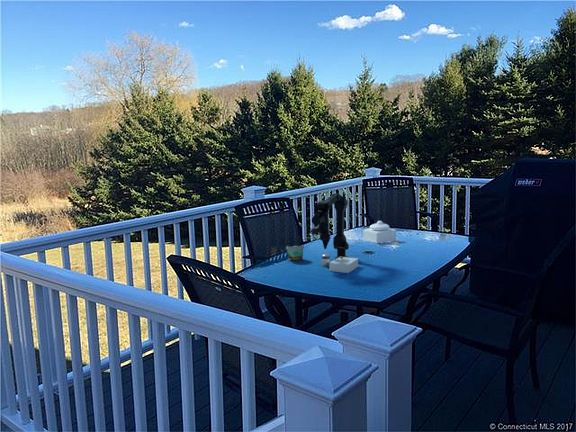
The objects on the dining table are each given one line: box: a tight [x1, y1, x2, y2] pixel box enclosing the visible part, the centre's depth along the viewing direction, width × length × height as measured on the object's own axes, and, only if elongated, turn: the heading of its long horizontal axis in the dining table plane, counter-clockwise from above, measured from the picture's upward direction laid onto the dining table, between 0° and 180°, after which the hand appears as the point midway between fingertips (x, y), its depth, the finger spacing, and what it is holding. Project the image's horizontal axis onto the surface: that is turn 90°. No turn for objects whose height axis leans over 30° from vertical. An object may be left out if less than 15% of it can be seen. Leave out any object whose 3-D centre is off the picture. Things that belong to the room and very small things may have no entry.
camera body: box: [329, 256, 359, 274], centre depth 284 cm, size 16×12×6 cm
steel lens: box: [321, 253, 331, 268], centre depth 292 cm, size 5×5×7 cm
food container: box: [285, 244, 305, 263], centre depth 307 cm, size 12×6×10 cm, turn 105°
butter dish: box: [362, 220, 397, 244], centre depth 358 cm, size 18×18×16 cm
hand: (324, 247), depth 289 cm, fingers open, 9 cm apart
